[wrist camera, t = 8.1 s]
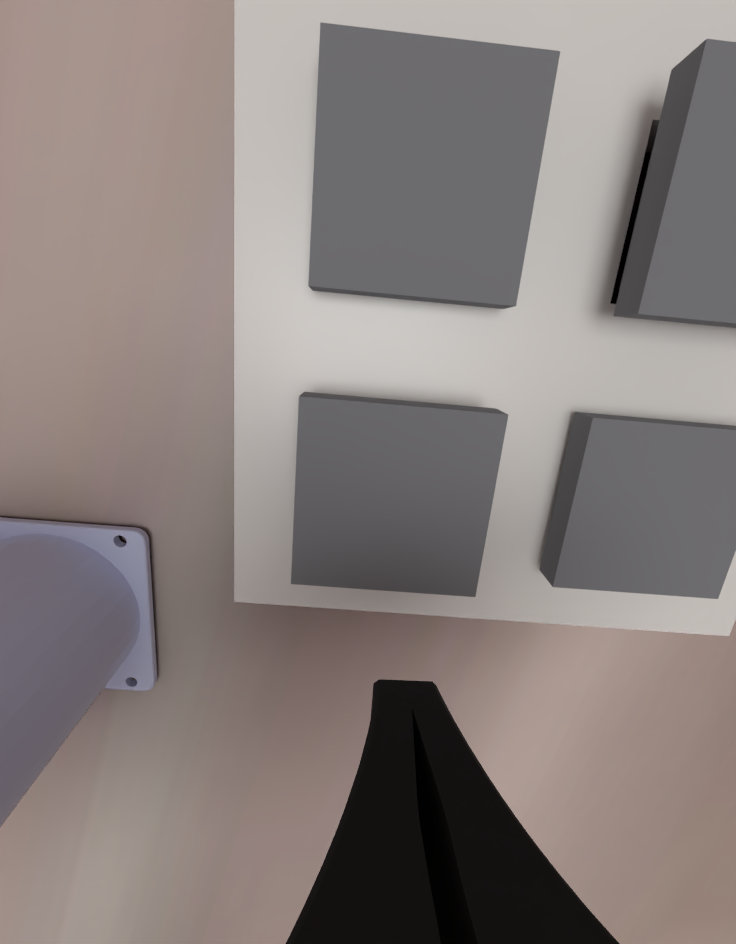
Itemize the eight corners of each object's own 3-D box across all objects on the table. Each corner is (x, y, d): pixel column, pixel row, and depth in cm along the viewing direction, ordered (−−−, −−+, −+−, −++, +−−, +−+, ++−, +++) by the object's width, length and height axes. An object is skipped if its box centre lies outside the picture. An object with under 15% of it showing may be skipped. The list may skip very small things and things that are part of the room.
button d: (582, 319, 15) (637, 313, 12) (628, 107, 13) (706, 38, 10) (753, 335, 15) (850, 334, 12) (820, 129, 13) (952, 68, 10)
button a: (303, 541, 17) (291, 583, 14) (311, 385, 15) (298, 396, 12) (455, 552, 17) (475, 597, 14) (480, 400, 15) (508, 414, 13)
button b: (521, 547, 18) (552, 587, 15) (551, 403, 17) (592, 417, 14) (661, 557, 18) (718, 599, 16) (704, 417, 17) (778, 434, 14)
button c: (318, 296, 15) (308, 286, 12) (329, 91, 14) (320, 22, 11) (486, 312, 16) (516, 305, 13) (517, 112, 14) (560, 51, 11)
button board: (247, 575, 19) (234, 601, 17) (253, -10, 13) (234, -70, 11) (693, 607, 20) (729, 636, 18) (881, 66, 14) (963, 22, 12)
